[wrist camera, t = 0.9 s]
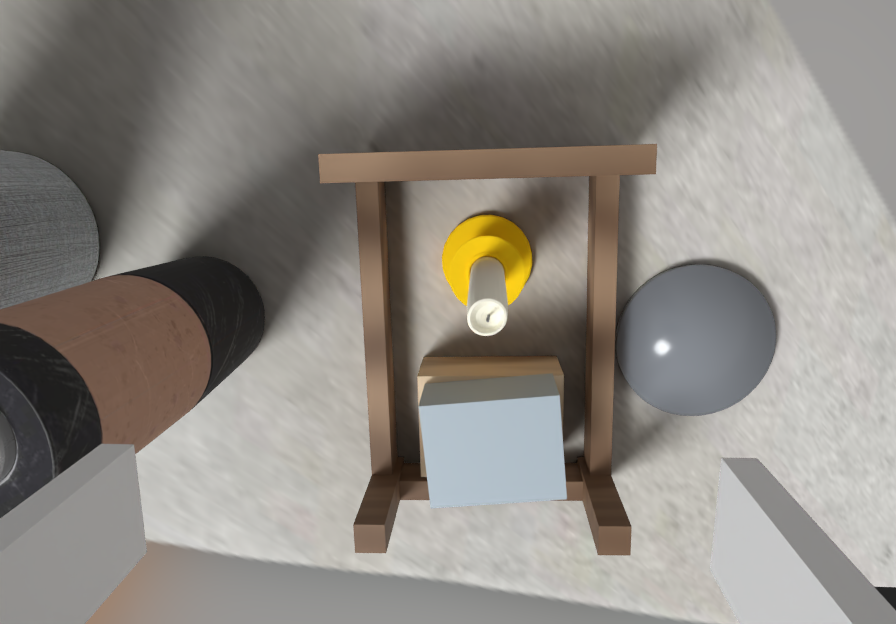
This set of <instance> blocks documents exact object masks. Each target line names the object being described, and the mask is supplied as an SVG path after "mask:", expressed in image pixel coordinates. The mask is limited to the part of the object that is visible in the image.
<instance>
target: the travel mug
mask: <svg viewBox="0 0 896 624" xmlns="http://www.w3.org/2000/svg"><path fill="white" fill-rule="evenodd" d="M264 320H265V316H264V307H263V303H262V300H261V297H260V295H259V292H258V290H257V289H256V287H255V285H254V284H253V282H252V281H251V280H250V279H249V278H248V276H246V275H245V274H244V273H243V272H242V271H241V270H240V269H238V268H237V267H235V266H234V265H232V264H230V263H228V262H225V261H223V260H220V259H216V258H212V257H192V258H186V259H181V260H176V261H172V262H168V263H163V264H159V265H155V266H151V267H146V268H142V269H138V270H133V271H129V272H125V273H121V274H116V275H112V276H109V277H105V278H101V279H98V280H94V281H91V282H88V283H85V284H81V285H78V286H75V287H72V288H69V289H65V290H62V291H59V292H56V293H52V294H49V295H46V296H43V297H39V298H36V299H33V300H30V301H26V302H23V303H20V304H17V305H13V306H10V307H7V308H4V309H0V518H2V517H3V516H4V515H6V514H7V513H8V512H10V511H11V510H12V509H14V508H15V507H16V506H18V505H19V504H21V503H22V502H23V501H25V500H26V499H27V498H29V497H30V496H31V495H33V494H34V493H35V492H37V491H38V490H40V489H41V488H42V487H44V486H45V485H46V484H48V483H49V482H50V481H52V480H53V479H54V478H56V477H57V476H58V475H60V474H61V473H63V472H64V471H65V470H67V469H68V468H69V467H71V466H72V465H73V464H75V463H76V462H77V461H79V460H80V459H81V458H83V457H84V456H86V455H87V454H88V453H90V452H91V451H92V450H94V449H95V448H96V447H98V446H99V445H100V444H134V448H135V454H136V453H137V452H139V451H140V450H141V449H143V448H144V447H145V446H146V445H148V444H149V443H150V442H151V441H153V440H154V439H155V438H156V437H158V436H159V435H160V434H161V433H163V432H164V431H165V430H166V429H168V428H169V427H170V426H171V425H173V424H174V423H175V422H177V421H178V420H179V419H180V418H182V417H183V416H184V415H185V414H187V413H188V412H189V411H190V410H191V409H193V408H194V407H195V406H196V405H197V404H198V403H199V402H200V401H201V400H202V399H203V398H205V397H206V396H207V395H208V394H209V393H210V392H211V391H212V390H213V389H214V388H215V387H217V386H218V385H219V384H220V383H221V382H222V381H223V380H224V379H225V378H226V377H227V376H229V375H230V374H231V373H232V372H233V371H234V370H235V369H236V368H237V367H238V366H239V365H240V364H242V363H243V362H244V361H245V360H246V359H247V358H248V357H249V355H250V354H251V353H252V352H253V351H254V349H255V348H256V347H257V345H258V343H259V341H260V339H261V336H262V333H263V329H264Z"/></svg>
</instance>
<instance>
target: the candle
mask: <svg viewBox="0 0 896 624" xmlns="http://www.w3.org/2000/svg"><path fill="white" fill-rule="evenodd" d="M442 265H443V271H444V274H445V277H446V280H447V281H448V283H449V284H450V286H451V288H452V291H453V292H454V294H455V295H456V297H457V298H458V299H459V300H460V301H461V302H462V303H463V304H464V305H466V306H467V322H468V325H469V327H470V328H471V330H472V331H474V332H475V333H476V334H479V335H482V336H491V335H494V334H496V333H498V332H499V331H501V329H502V328H503V327H504V326H505V324H506V322H507V318H508V305H509V304H511V303H512V302H513V301H514V300H515V299H516V298H517V297H518V296H519V294H520V292H521V290H522V289H523V287H524V285H525V283H526V281H527V280H528V278H529V276H530V272H531V268H532V251H531V248H530V244H529V241H528V240H527V238H526V236H525V235H524V233H523V231H522V230H521V229H520V228H519V227H517V226H516V225H515V224H514V223H513V222H511V221H509V220H507V219H505V218H503V217H500V216H495V215H478V216H475V217H472V218H469V219H467V220H466V221H464V222H462V223H461V224H459V225H458V226H457V227H456V228H455V229H454V230H453V231H452V233H451V234H450V235H449V237H448V239H447V241H446V243H445V245H444V250H443V255H442Z"/></svg>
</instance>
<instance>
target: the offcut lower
mask: <svg viewBox="0 0 896 624" xmlns="http://www.w3.org/2000/svg"><path fill="white" fill-rule="evenodd" d="M550 373H553V377H554V380H555V383H556V386H557V389H558V392H559V395H560V408H561V422H562V436H563V404H564V374H563V372H562V369H561V366H560V364H559V361H558V358H557V356H471V357H423V360H422V364H421V367H420V370H419V373H418V376H417V382H418V406H419V403H420V399H421V396H422V392H423V388H424V385H425V384H427V383H439V382H451V381H464V380H476V379H488V378H501V377H513V376H525V375H537V374H550ZM418 410H419V407H418ZM419 437H420V464H421V477H427V473H426V465H425V457H424V448H423V440H422V432H421V423H420V415H419Z"/></svg>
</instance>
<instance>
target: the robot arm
mask: <svg viewBox="0 0 896 624" xmlns="http://www.w3.org/2000/svg"><path fill="white" fill-rule="evenodd" d="M146 549H147V548H146V540H145V532H144V523H143V515H142V507H141V498H140V490H139V482H138V473H137V465H136V457H135V448H134V444H100V445H99V446H98V447H96V448H95V449H94V450H92V451H91V452H90V453H88V454H87V455H86V456H84V457H83V458H81V459H80V460H79V461H77V462H76V463H75V464H73V465H72V466H71V467H69V468H68V469H67V470H65V471H64V472H63V473H61V474H60V475H58V476H57V477H56V478H54V479H53V480H52V481H50V482H49V483H48V484H46V485H45V486H44V487H42V488H41V489H40V490H38V491H37V492H35V493H34V494H33V495H31V496H30V497H29V498H27V499H26V500H25V501H23V502H22V503H21V504H19V505H18V506H16V507H15V508H14V509H12V510H11V511H10V512H8V513H7V514H6V515H4V516H3V517H2V518H0V624H85V623H86V622H87V621H88V620H89V618H90V617H91V616H92V615H93V614H94V613H95V611H96V610H97V609H98V608H99V607H100V606H101V604H102V603H103V602H104V601H105V600H106V599H107V598H108V596H109V595H110V594H111V593H112V592H113V591H114V589H115V588H116V587H117V586H118V585H119V584H120V582H121V581H122V580H123V579H124V578H125V577H126V576H127V574H128V573H129V572H130V571H131V570H132V569H133V568H134V566H135V565H136V564H137V563H138V562H139V561H140V559H141V558H142V557H143V556H144V555H145V554H146V552H147V550H146ZM710 571H711V573H712V574H713V576H714V578H715V580H716V582H717V584H718V585H719V587H720V589H721V591H722V593H723V595H724V596H725V598H726V600H727V602H728V604H729V606H730V607H731V609H732V611H733V613H734V615H735V617H736V618H737V620H738V622H739V624H896V588H895V587H874V586H873V585H872V584H871V583H870V582H869V581H868V580H867V578H866V577H865V576H864V575H863V574H862V573H861V572H860V571H859V570H858V569H857V567H856V566H855V565H854V564H853V563H852V562H851V561H850V560H849V559H848V558H847V556H846V555H845V554H844V553H843V552H842V551H841V550H840V549H839V548H838V547H837V545H836V544H835V543H834V542H833V541H832V540H831V539H830V538H829V537H828V536H827V534H826V533H825V532H824V531H823V530H822V529H821V528H820V527H819V526H818V525H817V523H816V522H815V521H814V520H813V519H812V518H811V517H810V516H809V515H808V514H807V512H806V511H805V510H804V509H803V508H802V507H801V506H800V505H799V504H798V503H797V501H796V500H795V499H794V498H793V497H792V496H791V495H790V494H789V493H788V492H787V490H786V489H785V488H784V487H783V486H782V485H781V484H780V483H779V482H778V481H777V479H776V478H775V477H774V476H773V475H772V474H771V473H770V472H769V471H768V470H767V468H766V467H765V466H764V465H763V464H762V463H761V462H760V461H759V460H758V459H757V458H721V466H720V476H719V486H718V496H717V506H716V516H715V525H714V535H713V545H712V555H711V565H710Z"/></svg>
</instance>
